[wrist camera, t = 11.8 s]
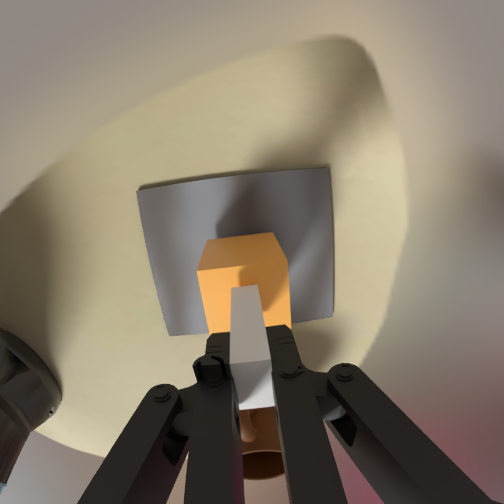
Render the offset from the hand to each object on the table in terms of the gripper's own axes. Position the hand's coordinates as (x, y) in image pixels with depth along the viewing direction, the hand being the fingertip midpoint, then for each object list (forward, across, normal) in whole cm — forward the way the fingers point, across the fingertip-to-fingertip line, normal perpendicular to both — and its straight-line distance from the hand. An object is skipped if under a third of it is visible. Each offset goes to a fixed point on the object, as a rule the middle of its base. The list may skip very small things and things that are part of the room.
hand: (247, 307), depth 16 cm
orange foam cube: (+7, 0, 0) cm, 7 cm away
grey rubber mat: (+9, 0, 0) cm, 9 cm away
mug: (+9, -1, -16) cm, 18 cm away
